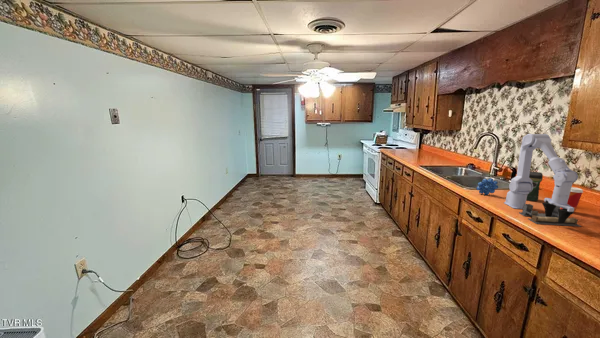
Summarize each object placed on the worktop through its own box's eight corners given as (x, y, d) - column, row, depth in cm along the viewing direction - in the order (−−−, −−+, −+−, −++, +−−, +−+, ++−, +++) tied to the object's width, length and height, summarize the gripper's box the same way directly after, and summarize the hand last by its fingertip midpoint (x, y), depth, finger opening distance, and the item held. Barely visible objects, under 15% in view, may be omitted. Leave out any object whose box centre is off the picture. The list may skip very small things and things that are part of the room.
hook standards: (518, 213, 138) (521, 203, 137) (554, 215, 136) (557, 205, 135) (528, 218, 132) (530, 207, 130) (566, 220, 129) (569, 209, 128)
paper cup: (556, 207, 147) (562, 185, 144) (575, 211, 142) (582, 188, 139) (559, 211, 141) (565, 188, 138) (578, 215, 136) (585, 191, 133)
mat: (527, 219, 131) (527, 218, 131) (570, 221, 128) (570, 220, 128) (536, 224, 125) (536, 223, 125) (581, 226, 123) (581, 225, 122)
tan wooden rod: (535, 221, 127) (536, 217, 126) (531, 219, 129) (532, 215, 128) (576, 224, 124) (578, 219, 124) (572, 222, 127) (573, 217, 126)
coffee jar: (536, 199, 162) (542, 171, 158) (538, 202, 156) (545, 174, 152) (517, 196, 168) (522, 169, 163) (518, 199, 161) (524, 171, 157)
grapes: (495, 194, 170) (499, 178, 167) (496, 197, 164) (500, 180, 162) (475, 191, 176) (478, 175, 173) (475, 194, 171) (478, 177, 168)
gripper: (540, 189, 131) (534, 213, 134) (565, 198, 117) (558, 225, 120) (555, 190, 130) (549, 214, 133) (581, 199, 116) (574, 226, 119)
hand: (554, 219), depth 126 cm, fingers open, 7 cm apart
